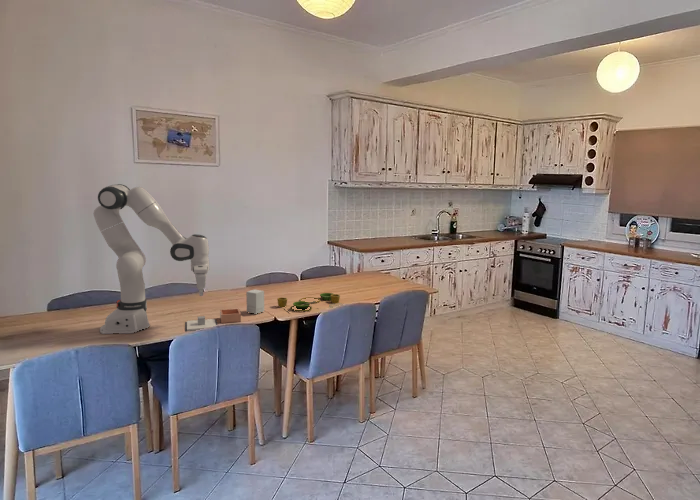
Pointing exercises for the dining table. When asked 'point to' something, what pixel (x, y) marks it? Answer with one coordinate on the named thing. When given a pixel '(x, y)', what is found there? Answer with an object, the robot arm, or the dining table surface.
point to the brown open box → (230, 315)
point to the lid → (200, 323)
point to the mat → (195, 330)
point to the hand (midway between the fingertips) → (201, 293)
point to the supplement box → (255, 301)
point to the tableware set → (305, 305)
